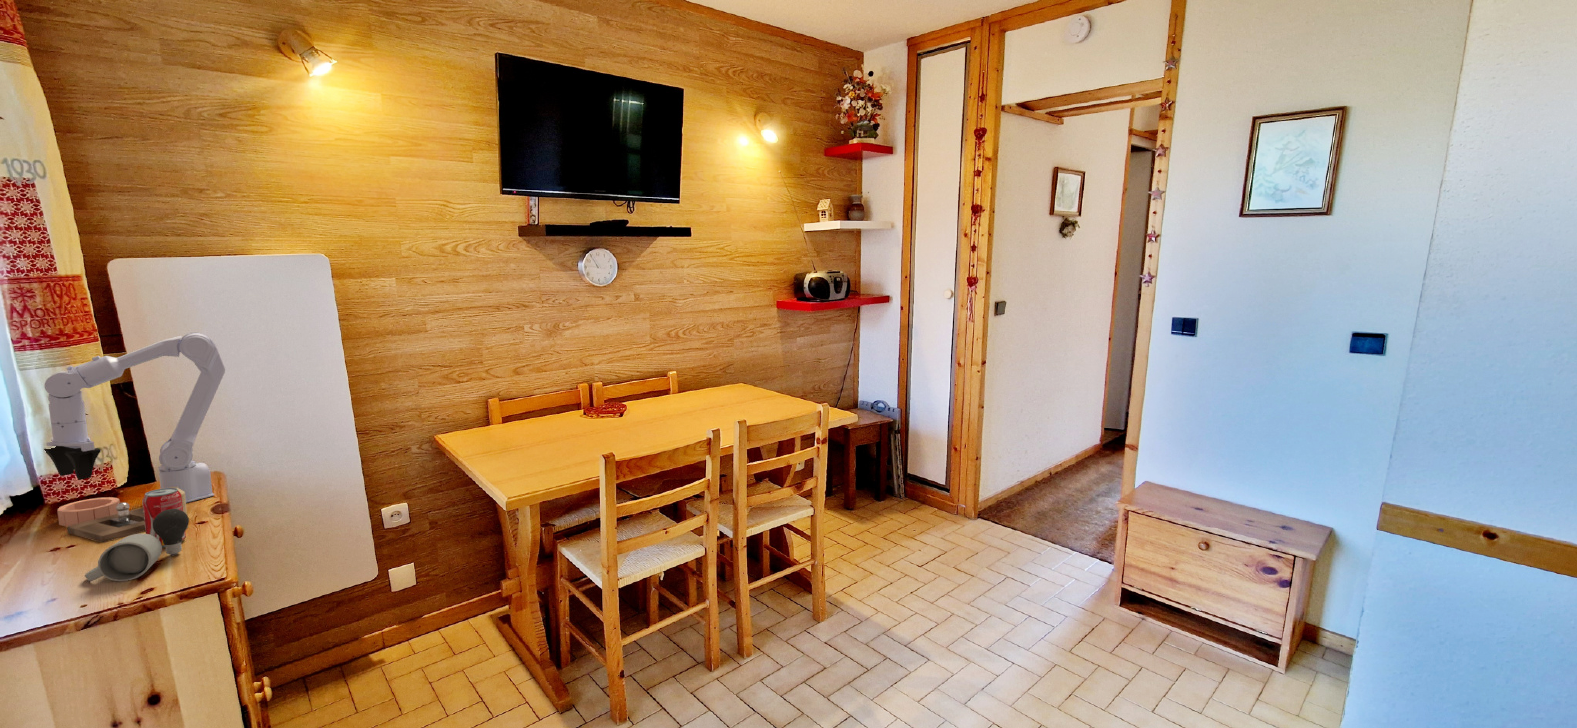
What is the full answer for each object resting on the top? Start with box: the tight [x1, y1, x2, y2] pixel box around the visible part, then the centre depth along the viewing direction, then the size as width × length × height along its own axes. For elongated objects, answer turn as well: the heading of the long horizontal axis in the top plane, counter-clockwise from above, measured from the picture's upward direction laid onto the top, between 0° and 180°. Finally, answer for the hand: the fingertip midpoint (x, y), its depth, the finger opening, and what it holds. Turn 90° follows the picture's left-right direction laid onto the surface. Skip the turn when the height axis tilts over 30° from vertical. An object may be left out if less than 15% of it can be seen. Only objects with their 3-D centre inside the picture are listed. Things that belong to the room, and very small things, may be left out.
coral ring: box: [57, 496, 121, 527], centre depth 158 cm, size 10×10×4 cm
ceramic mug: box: [84, 532, 163, 582], centre depth 130 cm, size 11×8×8 cm
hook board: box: [66, 507, 146, 543], centre depth 154 cm, size 14×14×2 cm
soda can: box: [141, 488, 187, 549], centre depth 144 cm, size 6×6×12 cm
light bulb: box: [153, 509, 190, 557], centre depth 139 cm, size 6×6×10 cm
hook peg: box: [110, 501, 138, 528], centre depth 153 cm, size 2×8×6 cm, turn 70°
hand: (75, 476), depth 159 cm, fingers open, 7 cm apart
